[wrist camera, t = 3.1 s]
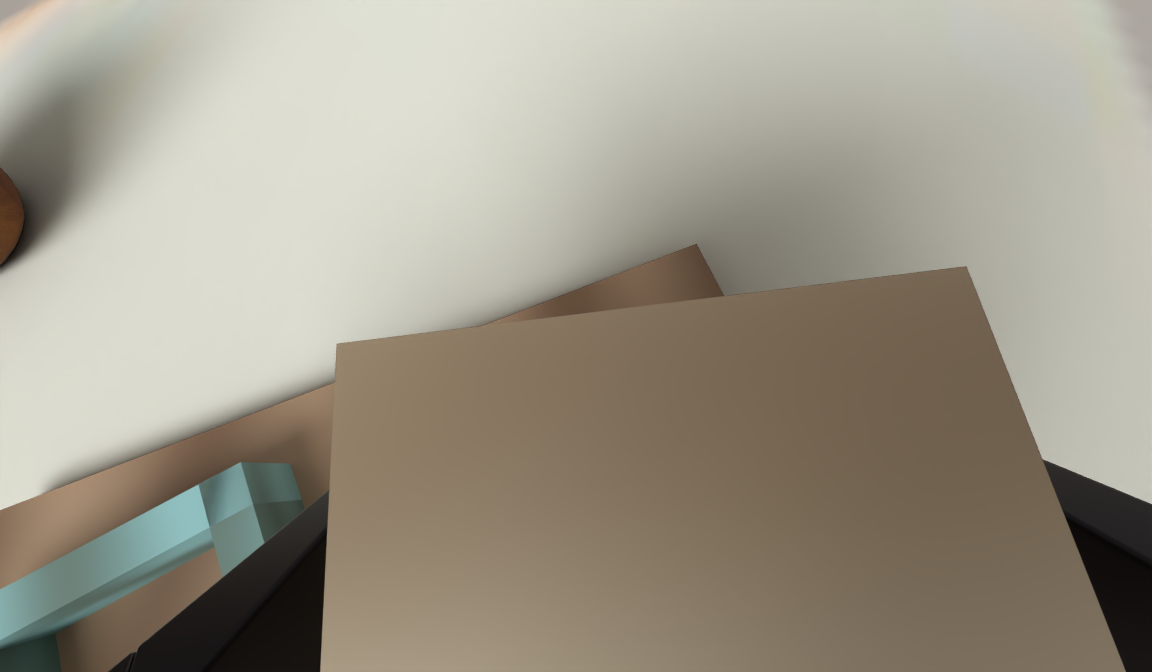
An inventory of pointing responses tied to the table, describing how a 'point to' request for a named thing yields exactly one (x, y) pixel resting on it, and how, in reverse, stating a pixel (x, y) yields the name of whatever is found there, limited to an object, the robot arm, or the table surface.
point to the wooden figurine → (9, 216)
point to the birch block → (702, 494)
